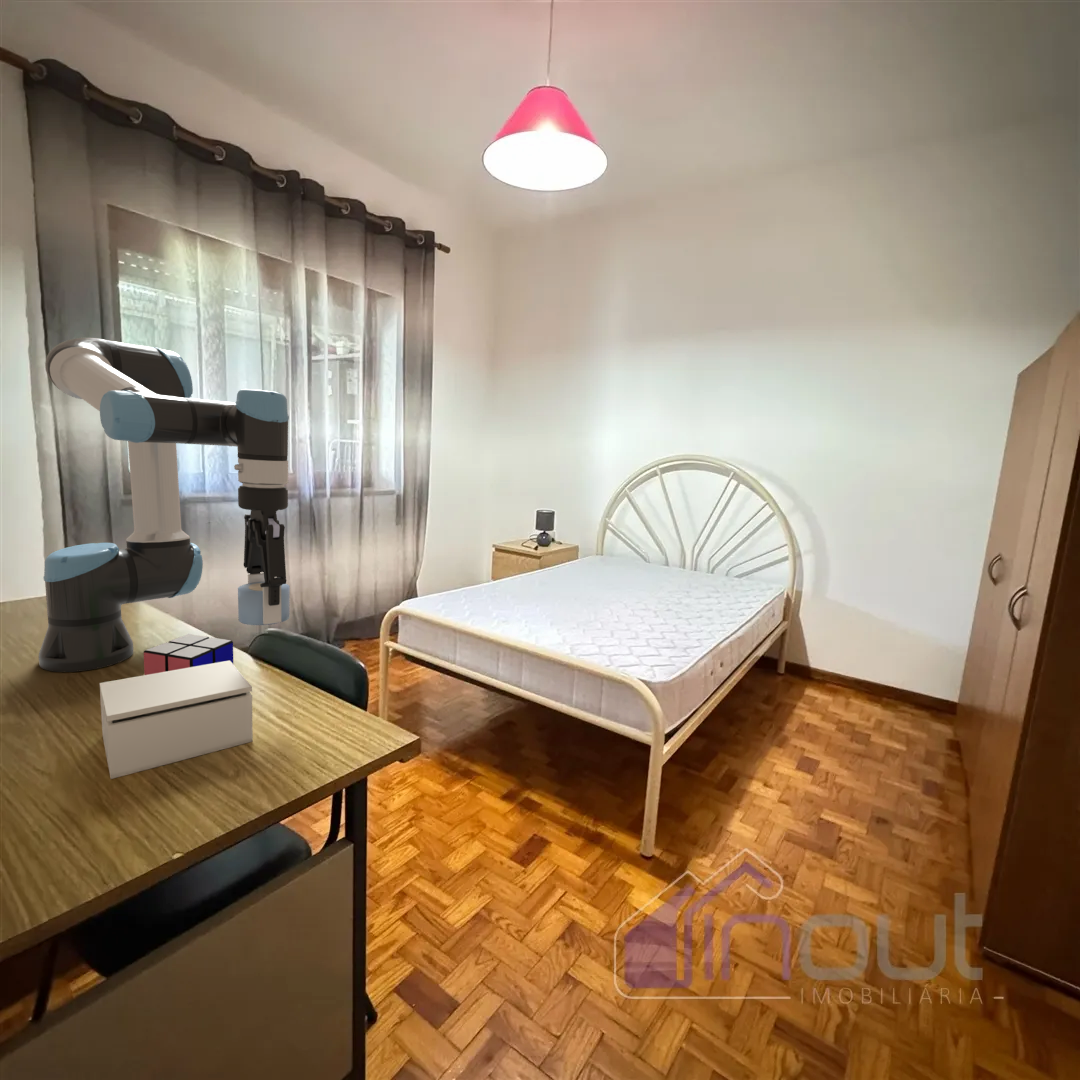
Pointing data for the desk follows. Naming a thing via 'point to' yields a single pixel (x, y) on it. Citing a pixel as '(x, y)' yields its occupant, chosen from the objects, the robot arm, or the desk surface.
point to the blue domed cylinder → (259, 603)
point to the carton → (176, 733)
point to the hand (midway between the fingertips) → (264, 615)
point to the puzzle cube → (187, 653)
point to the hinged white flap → (171, 689)
